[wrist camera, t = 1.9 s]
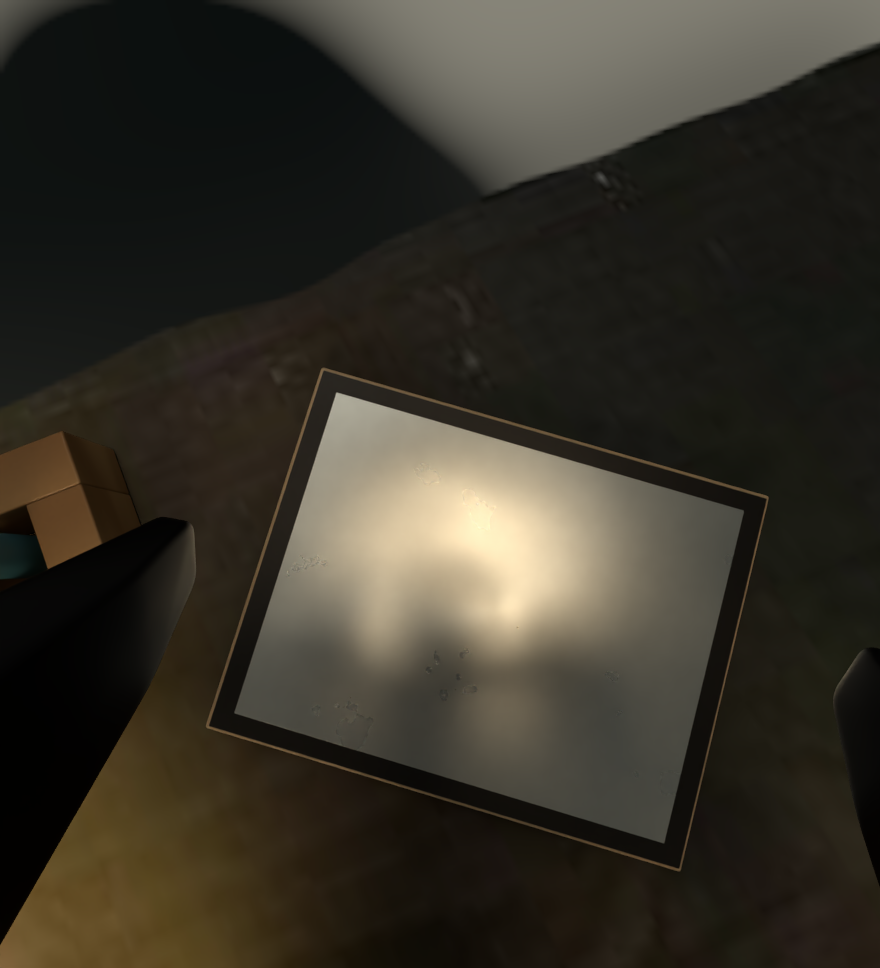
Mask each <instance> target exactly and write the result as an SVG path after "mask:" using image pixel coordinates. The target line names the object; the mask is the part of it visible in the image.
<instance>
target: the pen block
mask: <svg viewBox="0 0 880 968" xmlns="http://www.w3.org/2000/svg"><path fill="white" fill-rule="evenodd" d="M128 494H129V492H128V489H127V487H126V484H125V481H124V478H123V475H122V473H121V470H120V467H119V464H118V462H117V459H116V456H115V453H114V451H113V449H110V448H108V447H105V446H102V445H99V444H96V443H94V442H91V441H88V440H85V439H83V438H80V437H77V436H74V435H71V434H69V433H66V432H63V431H60V432H58V433H55V434H53V435H50V436H47V437H45V438H42V439H40V440H37V441H35V442H32V443H29V444H27V445H24V446H22V447H19V448H17V449H14V450H12V451H9V452H6V453H4V454H1V455H0V533H6V534H20V535H28V534H31V533H33V532H35V533H36V536H37V539H38V542H39V544H40V547H41V550H42V553H43V556H44V559H45V562H46V565H47V568H48V569H49V568H51V567H53V566H56V565H58V564H60V563H62V562H64V561H66V560H68V559H70V558H73V557H75V556H77V555H79V554H81V553H83V552H85V551H88V550H90V549H92V548H94V547H96V546H98V545H100V544H103V543H105V542H107V541H109V540H111V539H113V538H115V537H118V536H120V535H122V534H124V533H126V532H128V531H130V530H132V529H135V528H137V527H139V526H141V525H140V522H139V519H138V517H137V514H136V511H135V508H134V506H133V503H132V500H131V497H130V495H128ZM26 579H28V578H22V579H0V591H2V590H4V589H6V588H9V587H11V586H13V585H15V584H17V583H19V582H21V581H23V580H26Z"/></svg>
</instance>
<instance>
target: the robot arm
mask: <svg viewBox="0 0 880 968" xmlns="http://www.w3.org/2000/svg"><path fill="white" fill-rule="evenodd" d="M195 575H196V560H195V541H194V530H193V527H192V525H191V524H190V523H189V522H188V521H184V520H178V519H173V518H167V517H159V518H156V519H154V520H152V521H150V522H147V523H145V524H143V525H141V526H139V527H137V528H135V529H132V530H130V531H128V532H126V533H124V534H122V535H120V536H118V537H115V538H113V539H111V540H109V541H107V542H105V543H103V544H100V545H98V546H96V547H94V548H92V549H90V550H88V551H85V552H83V553H81V554H79V555H77V556H75V557H73V558H70V559H68V560H66V561H64V562H62V563H60V564H58V565H56V566H53V567H51V568H49V569H47V570H45V571H43V572H41V573H38V574H36V575H34V576H32V577H30V578H28V579H26V580H23V581H21V582H19V583H17V584H15V585H13V586H11V587H9V588H6V589H4V590H2V591H0V945H1V943H2V941H3V939H4V938H5V936H6V934H7V932H8V931H9V929H10V927H11V925H12V924H13V922H14V920H15V919H16V917H17V915H18V913H19V912H20V910H21V908H22V906H23V905H24V903H25V901H26V899H27V898H28V896H29V894H30V893H31V891H32V889H33V887H34V886H35V884H36V882H37V880H38V879H39V877H40V875H41V873H42V872H43V870H44V868H45V867H46V865H47V863H48V861H49V860H50V858H51V856H52V854H53V853H54V851H55V849H56V847H57V846H58V844H59V842H60V841H61V839H62V837H63V835H64V834H65V832H66V830H67V828H68V827H69V825H70V823H71V822H72V820H73V818H74V816H75V815H76V813H77V811H78V809H79V808H80V806H81V804H82V802H83V801H84V799H85V797H86V796H87V794H88V792H89V790H90V789H91V787H92V785H93V783H94V782H95V780H96V778H97V776H98V775H99V773H100V771H101V770H102V768H103V766H104V764H105V763H106V761H107V759H108V757H109V756H110V754H111V752H112V750H113V749H114V747H115V745H116V744H117V742H118V740H119V738H120V737H121V735H122V733H123V731H124V730H125V728H126V726H127V724H128V723H129V721H130V719H131V718H132V716H133V714H134V712H135V711H136V709H137V707H138V705H139V704H140V702H141V700H142V698H143V696H144V695H145V693H146V691H147V689H148V687H149V685H150V683H151V681H152V679H153V677H154V675H155V673H156V670H157V668H158V666H159V664H160V661H161V659H162V657H163V654H164V652H165V650H166V647H167V645H168V643H169V640H170V638H171V636H172V634H173V631H174V629H175V627H176V624H177V622H178V620H179V617H180V615H181V613H182V610H183V608H184V606H185V603H186V601H187V599H188V596H189V594H190V592H191V590H192V587H193V584H194V580H195ZM833 706H834V712H835V716H836V721H837V726H838V731H839V735H840V740H841V745H842V749H843V754H844V759H845V763H846V768H847V773H848V777H849V782H850V787H851V791H852V796H853V800H854V804H855V809H856V813H857V817H858V820H859V823H860V827H861V830H862V834H863V837H864V840H865V843H866V846H867V849H868V852H869V855H870V858H871V862H872V865H873V868H874V871H875V874H876V877H877V880H878V883H879V886H880V649H878V648H866V649H864V650H863V651H861V652H860V653H859V654H858V656H857V657H856V659H855V660H854V662H853V663H852V665H851V666H850V668H849V669H848V671H847V672H846V674H845V675H844V677H843V678H842V680H841V681H840V683H839V684H838V686H837V688H836V690H835V693H834V698H833Z"/></svg>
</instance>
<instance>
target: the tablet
mask: <svg viewBox="0 0 880 968" xmlns="http://www.w3.org/2000/svg"><path fill="white" fill-rule="evenodd" d="M768 499H769V497H768V496H766V495H762V494H759V493H755V492H752V491H748V490H745V489H741V488H738V487H735V486H731V485H728V484H724V483H721V482H717V481H714V480H710V479H707V478H704V477H700V476H697V475H693V474H690V473H686V472H683V471H679V470H676V469H672V468H669V467H666V466H662V465H659V464H655V463H652V462H648V461H645V460H641V459H638V458H634V457H631V456H628V455H624V454H621V453H617V452H614V451H610V450H607V449H603V448H600V447H596V446H593V445H590V444H586V443H583V442H579V441H576V440H572V439H569V438H565V437H562V436H558V435H555V434H552V433H548V432H545V431H541V430H538V429H534V428H531V427H527V426H524V425H520V424H517V423H514V422H510V421H507V420H503V419H500V418H496V417H493V416H489V415H486V414H482V413H479V412H476V411H472V410H469V409H465V408H462V407H458V406H455V405H451V404H448V403H444V402H441V401H438V400H434V399H431V398H427V397H424V396H420V395H417V394H413V393H410V392H406V391H403V390H400V389H396V388H393V387H389V386H386V385H382V384H379V383H375V382H372V381H368V380H365V379H362V378H358V377H355V376H351V375H348V374H344V373H341V372H337V371H334V370H330V369H327V368H322V369H321V371H320V374H319V377H318V380H317V383H316V386H315V389H314V392H313V396H312V399H311V402H310V405H309V408H308V411H307V414H306V417H305V420H304V423H303V426H302V430H301V433H300V436H299V439H298V442H297V445H296V448H295V451H294V454H293V457H292V461H291V464H290V467H289V470H288V473H287V476H286V479H285V482H284V485H283V488H282V491H281V495H280V498H279V501H278V504H277V507H276V510H275V513H274V516H273V519H272V522H271V526H270V529H269V532H268V535H267V538H266V541H265V544H264V547H263V550H262V553H261V556H260V560H259V563H258V566H257V569H256V572H255V575H254V578H253V581H252V584H251V587H250V590H249V594H248V597H247V600H246V603H245V606H244V609H243V612H242V615H241V618H240V621H239V625H238V628H237V631H236V634H235V637H234V640H233V643H232V646H231V649H230V652H229V655H228V659H227V662H226V665H225V668H224V671H223V674H222V677H221V680H220V683H219V686H218V689H217V693H216V696H215V699H214V702H213V705H212V708H211V711H210V714H209V717H208V720H207V724H206V727H207V728H208V729H212V730H215V731H218V732H221V733H225V734H228V735H231V736H235V737H238V738H241V739H244V740H248V741H251V742H254V743H258V744H261V745H264V746H267V747H271V748H274V749H277V750H281V751H284V752H287V753H290V754H294V755H297V756H300V757H304V758H307V759H310V760H314V761H317V762H320V763H323V764H327V765H330V766H333V767H337V768H340V769H343V770H346V771H350V772H353V773H356V774H360V775H363V776H366V777H369V778H373V779H376V780H379V781H383V782H386V783H389V784H392V785H396V786H399V787H402V788H406V789H409V790H412V791H415V792H419V793H422V794H425V795H429V796H432V797H435V798H438V799H442V800H445V801H448V802H452V803H455V804H458V805H462V806H465V807H468V808H471V809H475V810H478V811H481V812H485V813H488V814H491V815H494V816H498V817H501V818H504V819H508V820H511V821H514V822H517V823H521V824H524V825H527V826H531V827H534V828H537V829H540V830H544V831H547V832H550V833H554V834H557V835H560V836H563V837H567V838H570V839H573V840H577V841H580V842H583V843H586V844H590V845H593V846H596V847H600V848H603V849H606V850H609V851H613V852H616V853H619V854H623V855H626V856H629V857H633V858H636V859H639V860H642V861H646V862H649V863H652V864H656V865H659V866H662V867H665V868H669V869H672V870H675V871H680V870H681V866H682V862H683V858H684V854H685V849H686V845H687V841H688V837H689V832H690V828H691V824H692V820H693V816H694V811H695V807H696V803H697V799H698V794H699V790H700V786H701V782H702V778H703V773H704V769H705V765H706V761H707V756H708V752H709V748H710V744H711V740H712V735H713V731H714V727H715V723H716V718H717V714H718V710H719V706H720V702H721V697H722V693H723V689H724V685H725V680H726V676H727V672H728V668H729V664H730V659H731V655H732V651H733V647H734V642H735V638H736V634H737V630H738V626H739V621H740V617H741V613H742V609H743V604H744V600H745V596H746V592H747V588H748V583H749V579H750V575H751V571H752V566H753V562H754V558H755V554H756V550H757V545H758V541H759V537H760V533H761V528H762V524H763V520H764V516H765V512H766V507H767V503H768Z"/></svg>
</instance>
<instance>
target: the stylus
mask: <svg viewBox="0 0 880 968" xmlns="http://www.w3.org/2000/svg"><path fill="white" fill-rule="evenodd" d="M47 569H48V568H47V565H46V562H45V559H44V556H43V553H42V550H41V547H40V544H39V542H38V539H37V536H33V535H20V534H6V533H0V579H22V578H30V577H32V576H34V575H36V574H38V573H41V572H43V571H45V570H47Z"/></svg>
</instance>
